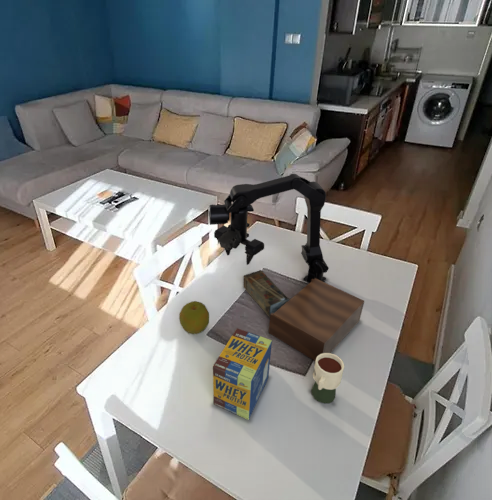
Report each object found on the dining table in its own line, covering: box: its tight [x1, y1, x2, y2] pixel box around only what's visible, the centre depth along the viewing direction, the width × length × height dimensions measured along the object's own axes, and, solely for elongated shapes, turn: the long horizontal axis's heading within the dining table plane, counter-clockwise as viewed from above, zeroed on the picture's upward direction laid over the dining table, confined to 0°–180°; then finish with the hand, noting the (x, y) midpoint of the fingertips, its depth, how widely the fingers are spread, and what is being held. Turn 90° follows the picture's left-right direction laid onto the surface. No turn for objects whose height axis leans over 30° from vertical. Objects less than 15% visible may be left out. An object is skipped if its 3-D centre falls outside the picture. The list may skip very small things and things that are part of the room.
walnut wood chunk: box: [268, 278, 365, 362], centre depth 124 cm, size 25×19×9 cm
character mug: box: [310, 352, 345, 404], centre depth 101 cm, size 11×7×13 cm, turn 144°
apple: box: [178, 300, 210, 335], centre depth 125 cm, size 10×10×11 cm
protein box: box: [212, 327, 273, 420], centre depth 102 cm, size 10×15×16 cm
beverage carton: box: [242, 269, 290, 318], centre depth 137 cm, size 8×19×7 cm, turn 24°
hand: (237, 259), depth 140 cm, fingers open, 9 cm apart
